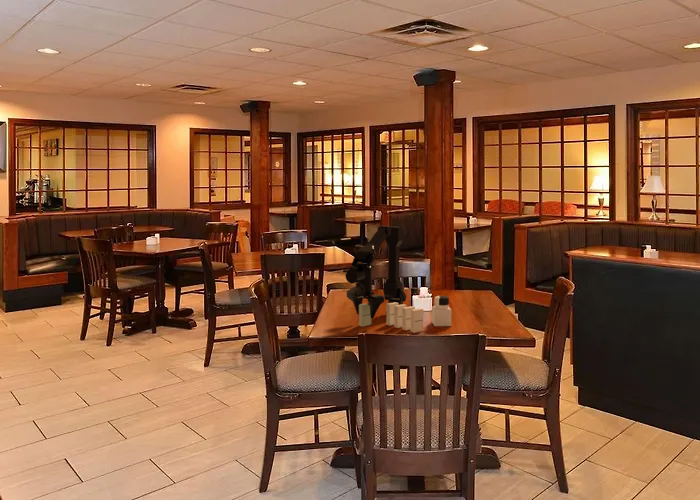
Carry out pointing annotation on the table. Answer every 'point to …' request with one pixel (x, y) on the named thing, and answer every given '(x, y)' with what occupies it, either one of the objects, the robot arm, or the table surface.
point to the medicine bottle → (441, 311)
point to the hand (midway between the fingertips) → (365, 316)
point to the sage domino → (364, 315)
